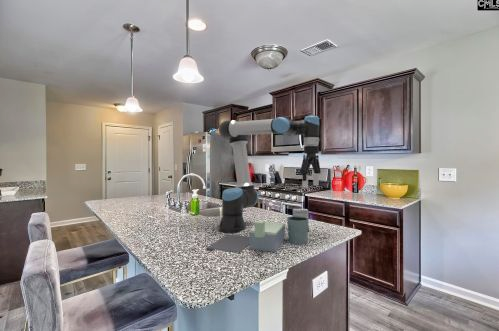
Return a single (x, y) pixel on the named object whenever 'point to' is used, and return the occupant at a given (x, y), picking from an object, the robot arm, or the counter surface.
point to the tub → (267, 241)
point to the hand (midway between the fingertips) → (310, 186)
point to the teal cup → (297, 229)
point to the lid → (266, 228)
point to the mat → (230, 243)
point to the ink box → (301, 213)
